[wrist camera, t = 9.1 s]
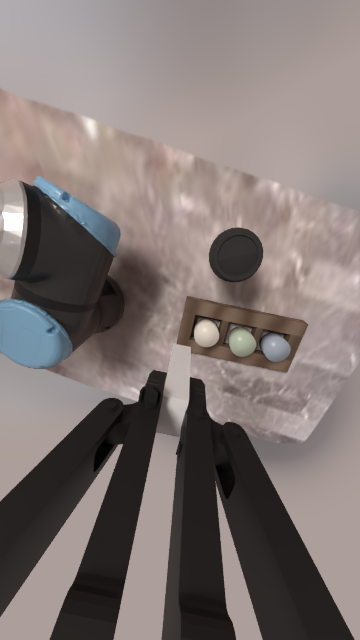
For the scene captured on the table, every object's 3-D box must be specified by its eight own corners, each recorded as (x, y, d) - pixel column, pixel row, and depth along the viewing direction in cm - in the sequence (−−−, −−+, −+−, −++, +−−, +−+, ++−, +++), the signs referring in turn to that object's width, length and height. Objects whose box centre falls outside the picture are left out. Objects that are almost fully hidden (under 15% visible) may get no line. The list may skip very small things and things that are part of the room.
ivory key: (191, 337, 51) (191, 344, 47) (197, 316, 49) (197, 321, 45) (214, 341, 51) (215, 349, 47) (220, 320, 49) (222, 327, 45)
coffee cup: (245, 268, 46) (268, 278, 32) (208, 276, 47) (214, 288, 33) (241, 228, 44) (264, 220, 29) (202, 237, 45) (205, 233, 31)
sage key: (224, 345, 50) (227, 353, 46) (231, 324, 48) (234, 331, 44) (247, 350, 50) (251, 358, 46) (254, 329, 48) (259, 336, 44)
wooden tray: (176, 344, 54) (175, 349, 51) (186, 296, 49) (186, 298, 47) (282, 366, 54) (286, 372, 51) (302, 320, 49) (308, 324, 47)
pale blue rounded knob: (256, 350, 51) (261, 359, 47) (263, 330, 49) (269, 337, 45) (278, 355, 51) (285, 364, 47) (286, 334, 49) (294, 342, 45)
